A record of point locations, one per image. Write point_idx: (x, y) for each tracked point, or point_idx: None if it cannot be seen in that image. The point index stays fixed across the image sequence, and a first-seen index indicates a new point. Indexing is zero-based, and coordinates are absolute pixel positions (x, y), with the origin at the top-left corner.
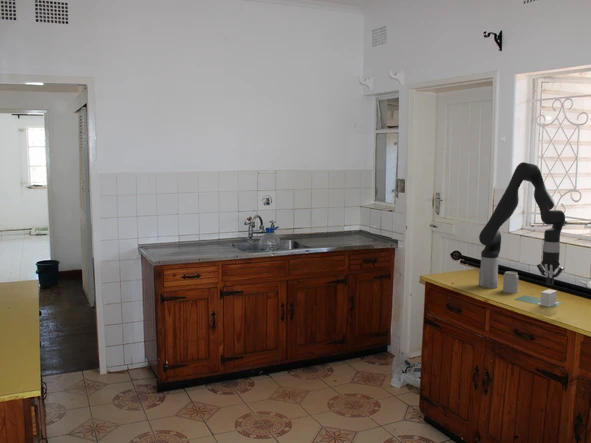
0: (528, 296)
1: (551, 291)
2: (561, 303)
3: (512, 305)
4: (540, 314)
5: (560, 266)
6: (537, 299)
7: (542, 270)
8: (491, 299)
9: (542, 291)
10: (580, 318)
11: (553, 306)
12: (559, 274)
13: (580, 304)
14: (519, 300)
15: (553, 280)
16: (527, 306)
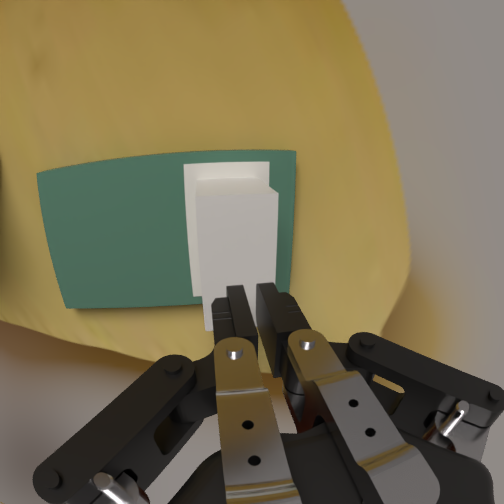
0: (63, 182)
1: (255, 255)
2: (290, 171)
3: (106, 344)
4: (264, 366)
5: (478, 454)
6: (134, 201)
7: (165, 454)
8: (9, 322)
9: (203, 308)
10: (398, 293)
11: (280, 271)
12: (408, 351)
13: (343, 53)
14: (91, 303)
15: (303, 319)
16: (154, 312)
